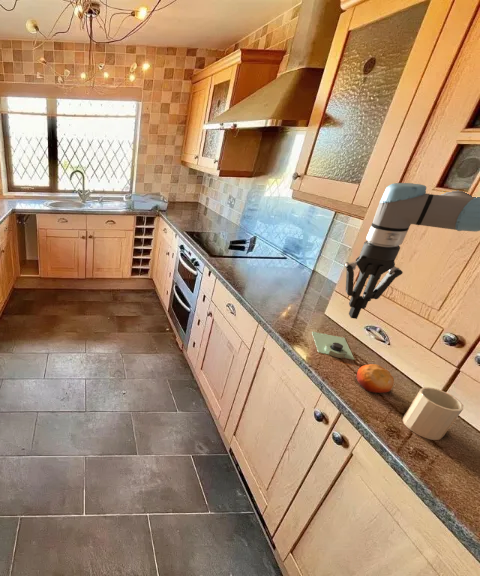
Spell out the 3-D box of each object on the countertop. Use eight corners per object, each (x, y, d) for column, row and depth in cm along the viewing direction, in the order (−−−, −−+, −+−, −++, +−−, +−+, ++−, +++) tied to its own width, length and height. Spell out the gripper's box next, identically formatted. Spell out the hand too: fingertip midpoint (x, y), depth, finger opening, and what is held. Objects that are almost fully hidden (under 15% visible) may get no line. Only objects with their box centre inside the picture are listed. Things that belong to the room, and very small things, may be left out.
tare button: (340, 348, 102) (342, 343, 101) (342, 352, 100) (344, 348, 99) (330, 345, 103) (331, 341, 102) (332, 350, 101) (333, 346, 100)
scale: (343, 340, 110) (346, 334, 108) (354, 364, 98) (357, 357, 97) (310, 334, 113) (313, 327, 112) (317, 356, 102) (320, 349, 101)
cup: (433, 421, 79) (453, 392, 74) (448, 444, 73) (470, 414, 69) (397, 412, 82) (414, 383, 77) (409, 433, 76) (428, 404, 71)
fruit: (370, 369, 94) (390, 361, 87) (382, 396, 90) (405, 389, 83) (343, 369, 94) (361, 361, 88) (354, 396, 90) (374, 389, 83)
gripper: (357, 244, 83) (329, 318, 94) (420, 250, 78) (383, 327, 89) (349, 236, 89) (325, 306, 100) (407, 241, 84) (375, 314, 95)
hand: (352, 316), depth 94 cm, fingers closed
